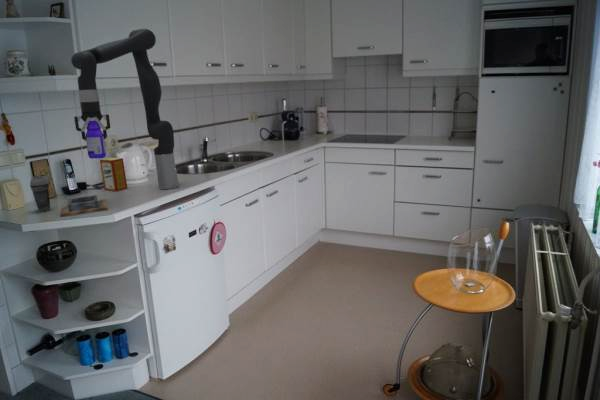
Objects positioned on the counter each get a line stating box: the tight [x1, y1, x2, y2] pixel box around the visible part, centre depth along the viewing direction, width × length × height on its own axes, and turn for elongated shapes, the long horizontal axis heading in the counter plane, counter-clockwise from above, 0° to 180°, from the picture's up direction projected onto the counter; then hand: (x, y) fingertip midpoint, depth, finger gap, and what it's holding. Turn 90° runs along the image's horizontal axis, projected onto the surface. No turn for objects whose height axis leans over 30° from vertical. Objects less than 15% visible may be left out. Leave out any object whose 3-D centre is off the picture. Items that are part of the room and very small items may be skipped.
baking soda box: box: [99, 157, 128, 192], centre depth 242 cm, size 10×6×16 cm
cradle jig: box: [59, 194, 108, 218], centre depth 206 cm, size 18×16×4 cm
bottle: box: [85, 118, 107, 160], centre depth 207 cm, size 7×6×17 cm
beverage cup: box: [29, 165, 51, 213], centre depth 206 cm, size 7×7×20 cm
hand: (95, 139), depth 207 cm, fingers closed on bottle, 7 cm apart
